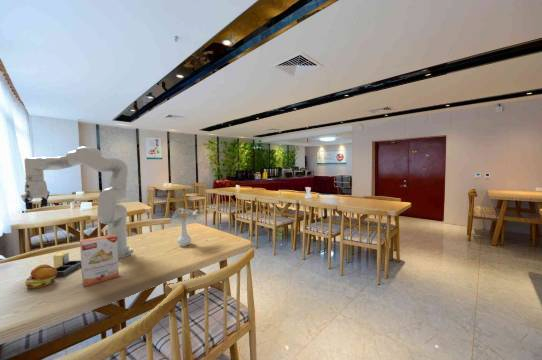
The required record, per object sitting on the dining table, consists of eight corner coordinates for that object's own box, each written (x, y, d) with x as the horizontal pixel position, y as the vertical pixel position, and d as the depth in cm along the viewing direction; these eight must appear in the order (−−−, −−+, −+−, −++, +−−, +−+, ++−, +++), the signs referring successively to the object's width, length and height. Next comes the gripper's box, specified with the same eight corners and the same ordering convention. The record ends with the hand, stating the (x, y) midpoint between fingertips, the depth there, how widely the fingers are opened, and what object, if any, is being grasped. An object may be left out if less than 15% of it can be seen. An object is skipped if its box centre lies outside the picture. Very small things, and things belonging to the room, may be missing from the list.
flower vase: (201, 242, 170) (200, 207, 168) (179, 250, 155) (178, 212, 153) (189, 239, 177) (188, 206, 175) (167, 246, 162) (165, 210, 160)
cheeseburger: (37, 279, 117) (41, 259, 117) (60, 283, 118) (64, 264, 118) (17, 290, 107) (22, 268, 107) (43, 294, 108) (47, 273, 108)
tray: (84, 264, 134) (83, 260, 134) (64, 276, 120) (63, 271, 120) (70, 265, 134) (70, 260, 133) (48, 277, 120) (48, 272, 119)
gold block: (69, 264, 135) (68, 252, 134) (63, 267, 130) (62, 255, 130) (60, 264, 134) (59, 252, 134) (53, 268, 130) (52, 255, 129)
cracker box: (84, 287, 109) (81, 242, 108) (82, 282, 114) (79, 239, 112) (119, 276, 119) (117, 235, 118) (116, 273, 123) (114, 233, 122)
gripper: (27, 179, 132) (30, 210, 133) (54, 177, 149) (56, 205, 150) (13, 179, 131) (15, 210, 133) (41, 177, 149) (43, 205, 150)
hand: (37, 207), depth 141 cm, fingers open, 9 cm apart
